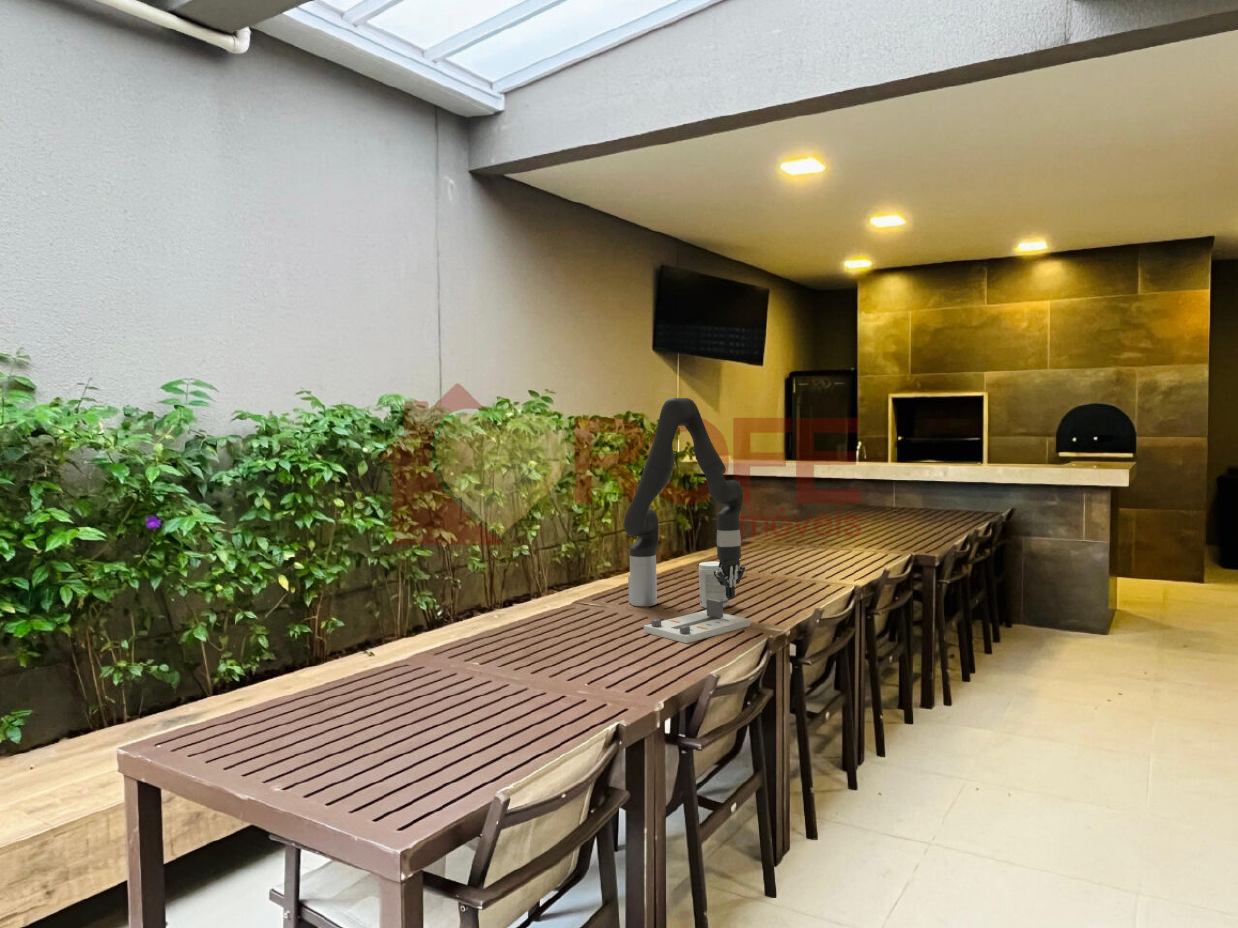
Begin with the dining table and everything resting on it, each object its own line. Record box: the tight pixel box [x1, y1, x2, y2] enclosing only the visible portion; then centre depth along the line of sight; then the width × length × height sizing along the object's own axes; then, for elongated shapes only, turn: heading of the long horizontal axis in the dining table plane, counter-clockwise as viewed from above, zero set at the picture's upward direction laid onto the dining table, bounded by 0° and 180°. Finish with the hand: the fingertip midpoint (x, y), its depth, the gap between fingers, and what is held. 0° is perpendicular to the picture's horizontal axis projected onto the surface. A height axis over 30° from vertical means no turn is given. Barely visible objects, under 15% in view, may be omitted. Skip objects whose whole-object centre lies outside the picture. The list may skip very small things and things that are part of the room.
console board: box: [643, 609, 751, 644], centre depth 251 cm, size 18×28×4 cm, turn 131°
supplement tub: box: [698, 561, 729, 609], centre depth 281 cm, size 10×10×15 cm
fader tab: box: [706, 599, 724, 618], centre depth 256 cm, size 5×2×5 cm, turn 41°
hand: (730, 598), depth 261 cm, fingers closed
